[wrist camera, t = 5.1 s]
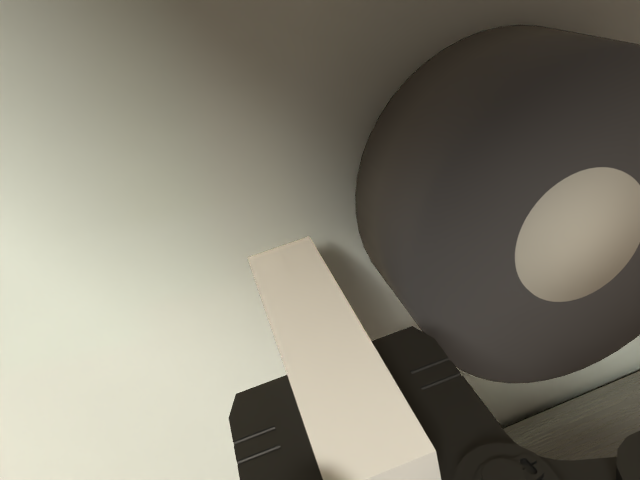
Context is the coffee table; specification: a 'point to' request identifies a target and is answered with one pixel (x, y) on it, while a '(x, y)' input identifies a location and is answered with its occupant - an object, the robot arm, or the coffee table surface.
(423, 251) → the coil
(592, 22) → the coffee table surface
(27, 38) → the coffee table surface
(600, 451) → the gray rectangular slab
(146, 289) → the coffee table surface
